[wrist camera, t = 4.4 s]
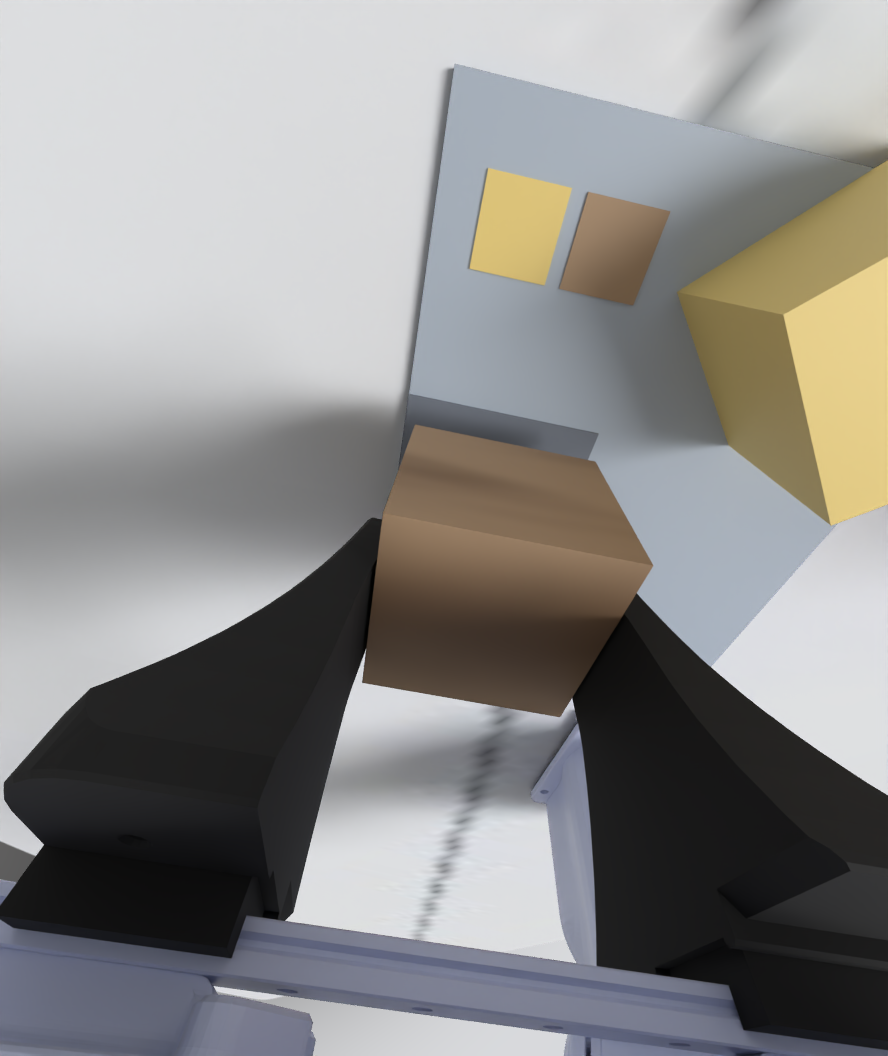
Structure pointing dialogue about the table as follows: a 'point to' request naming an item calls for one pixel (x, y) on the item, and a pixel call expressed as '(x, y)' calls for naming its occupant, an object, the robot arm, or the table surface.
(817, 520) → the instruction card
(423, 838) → the table surface
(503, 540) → the walnut block
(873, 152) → the table surface
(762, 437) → the mustard block
